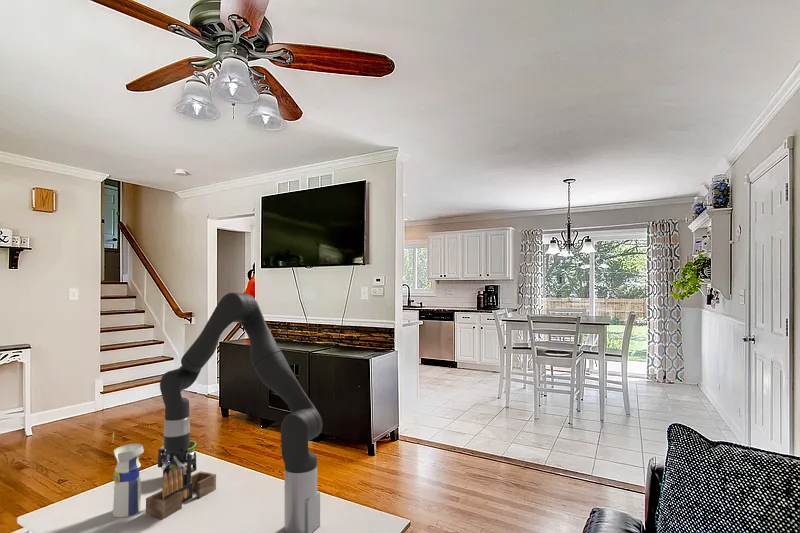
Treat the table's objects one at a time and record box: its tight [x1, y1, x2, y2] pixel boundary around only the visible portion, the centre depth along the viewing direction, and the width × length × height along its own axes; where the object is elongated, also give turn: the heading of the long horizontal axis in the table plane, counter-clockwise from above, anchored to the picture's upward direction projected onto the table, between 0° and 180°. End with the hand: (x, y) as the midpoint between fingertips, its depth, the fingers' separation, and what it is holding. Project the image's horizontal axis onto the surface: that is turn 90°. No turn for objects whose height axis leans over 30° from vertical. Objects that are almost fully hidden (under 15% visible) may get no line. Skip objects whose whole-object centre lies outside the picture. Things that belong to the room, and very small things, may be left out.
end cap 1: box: [145, 490, 183, 520], centre depth 137 cm, size 7×7×5 cm
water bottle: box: [111, 431, 145, 518], centre depth 138 cm, size 8×9×25 cm
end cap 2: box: [191, 470, 217, 499], centre depth 150 cm, size 7×7×5 cm
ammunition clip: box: [161, 467, 194, 505], centre depth 141 cm, size 11×2×12 cm, turn 158°
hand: (176, 483), depth 141 cm, fingers open, 8 cm apart
